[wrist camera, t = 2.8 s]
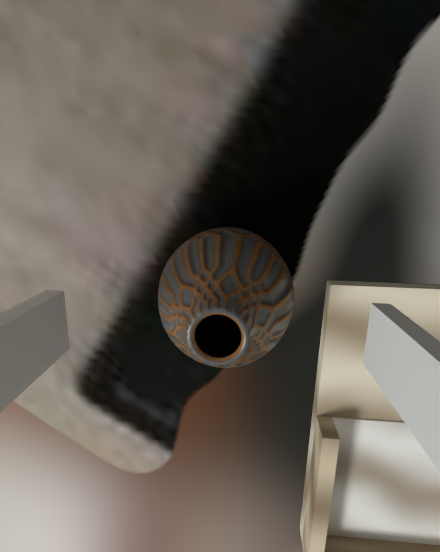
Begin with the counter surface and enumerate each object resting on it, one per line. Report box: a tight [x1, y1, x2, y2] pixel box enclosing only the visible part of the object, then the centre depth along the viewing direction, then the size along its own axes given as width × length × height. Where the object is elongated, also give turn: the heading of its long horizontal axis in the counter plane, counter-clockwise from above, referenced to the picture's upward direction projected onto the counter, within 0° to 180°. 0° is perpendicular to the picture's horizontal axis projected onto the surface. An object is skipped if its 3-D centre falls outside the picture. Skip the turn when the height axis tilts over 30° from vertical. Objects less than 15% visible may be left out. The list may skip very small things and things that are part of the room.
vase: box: [158, 227, 294, 367], centre depth 17 cm, size 7×7×9 cm
